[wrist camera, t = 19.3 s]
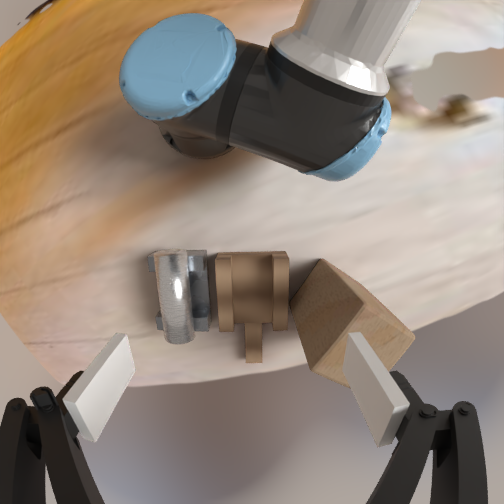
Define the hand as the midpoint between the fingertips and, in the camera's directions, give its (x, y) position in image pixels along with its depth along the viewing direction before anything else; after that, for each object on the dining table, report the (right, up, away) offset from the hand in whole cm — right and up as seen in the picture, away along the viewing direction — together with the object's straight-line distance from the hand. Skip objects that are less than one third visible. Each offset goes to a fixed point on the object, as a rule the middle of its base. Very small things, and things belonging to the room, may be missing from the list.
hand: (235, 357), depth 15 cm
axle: (-11, 0, +29) cm, 31 cm away
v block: (-11, 0, +32) cm, 34 cm away
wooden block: (+14, -1, +33) cm, 36 cm away
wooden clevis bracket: (+1, -4, +33) cm, 34 cm away
